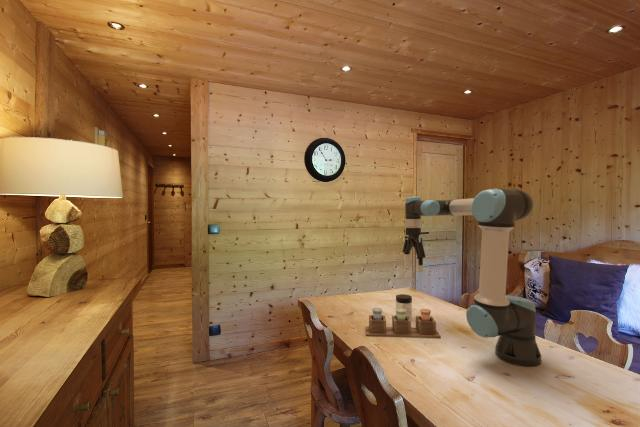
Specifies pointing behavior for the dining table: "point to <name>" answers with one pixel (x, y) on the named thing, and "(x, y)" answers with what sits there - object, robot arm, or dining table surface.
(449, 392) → the dining table surface
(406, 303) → the jar
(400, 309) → the sage plunger
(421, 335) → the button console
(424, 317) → the terracotta plunger
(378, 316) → the pale grey canister
